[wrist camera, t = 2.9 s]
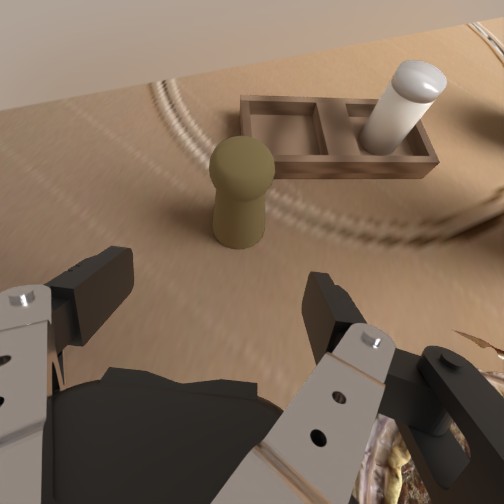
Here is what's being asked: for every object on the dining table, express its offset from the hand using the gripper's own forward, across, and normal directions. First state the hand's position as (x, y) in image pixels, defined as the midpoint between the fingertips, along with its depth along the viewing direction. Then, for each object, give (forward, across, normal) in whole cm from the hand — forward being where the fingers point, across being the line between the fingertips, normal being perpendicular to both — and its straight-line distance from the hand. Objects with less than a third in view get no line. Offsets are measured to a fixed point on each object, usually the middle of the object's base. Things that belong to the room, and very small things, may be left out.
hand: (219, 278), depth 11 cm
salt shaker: (+27, -17, -9) cm, 33 cm away
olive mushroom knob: (+18, 0, +3) cm, 18 cm away
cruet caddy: (+27, -11, -7) cm, 30 cm away
